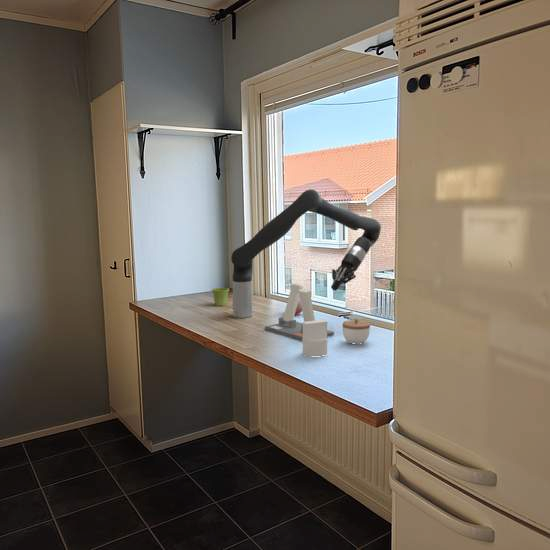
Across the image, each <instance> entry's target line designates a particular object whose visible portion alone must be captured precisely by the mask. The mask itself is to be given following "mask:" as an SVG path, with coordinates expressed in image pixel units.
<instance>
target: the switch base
mask: <svg viewBox="0 0 550 550" xmlns="http://www.w3.org/2000/svg"><path fill="white" fill-rule="evenodd" d="M282 321H283V316H282V317H281V316H280V317H278V323H274V324H269V325H265V326H264V330H265V331H268V332H272V333H275V334H278V335H282V336H284V337H288V338H290V337H291V338H290V339H294V340H297V339H298V340H297V341H300V340H302V341H301V342H303V322H299V321H297V320H296V319H293V320H290V321H289V324H285V323H283V322H282ZM332 335H334V336H335V332H334V331H332V330H328V329H327V338H329V337H333V336H332ZM328 336H329V337H328Z"/></svg>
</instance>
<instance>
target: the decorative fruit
mask: <svg viewBox="0 0 550 550" xmlns="http://www.w3.org/2000/svg"><path fill="white" fill-rule="evenodd" d="M288 298H289V296H288V297H287V298H286V303H287V302H288ZM300 313H303V312H302V306H301V300H300V297H299V301H298V305H297V308H296V312H295V315H299V314H300Z"/></svg>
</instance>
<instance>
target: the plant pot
mask: <svg viewBox="0 0 550 550" xmlns="http://www.w3.org/2000/svg"><path fill="white" fill-rule="evenodd" d="M229 291H230V288H227V287H215V288H211V292H212V295H213V301H214V306H215V307H216V306H217V307H220V306H221V307H225V306H227V304H228V303H227V302H228V295H229Z"/></svg>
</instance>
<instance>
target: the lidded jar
mask: <svg viewBox="0 0 550 550" xmlns="http://www.w3.org/2000/svg"><path fill="white" fill-rule="evenodd" d="M370 327H371V324H370V322H368V321H365V320H358V319H357V318H355V319H352V320H345V321H343V322H342V334H343V337H344V339H345V340H346V342H347V343H348V342H349V343H348V344H350V343H355V344H360V343H363V342H364V343H365V342H366V341H367V340H368V338H369V335H370V329H371V328H370ZM364 343H363V344H364ZM360 345H361V344H360Z"/></svg>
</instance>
